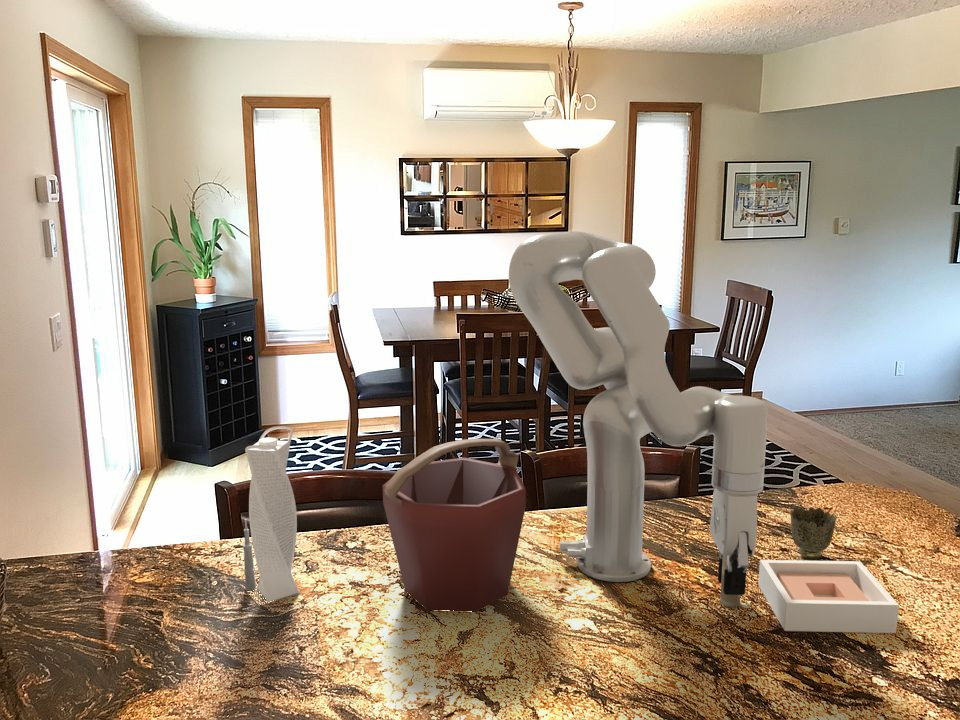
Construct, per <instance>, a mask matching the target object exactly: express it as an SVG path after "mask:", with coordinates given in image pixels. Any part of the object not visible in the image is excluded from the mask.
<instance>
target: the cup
mask: <svg viewBox="0 0 960 720" xmlns="http://www.w3.org/2000/svg"><path fill="white" fill-rule="evenodd" d="M836 522H837V516H836V515H835V513H832V514H830V512H829V510H827V511H824V510H823V509H822V508H821V507H818V508H814V507H813V506H810V507H809V508H808V510H802V507H801V506H800V507H796V506H795V507H793V510H792V509H790V525H791V526H790V527H791V530H790V531H791V537H792V540H793V542H794V544H795V545H796V547H798V548H799V549H798V552H799V555H800V556H801V557H802V558H804V559H807V560H810V561H816V560H819V559H820V558H821V556H822V552H823V551H825V550H827V548H829V547H830V544H831V543H832V540H833V535H834V531H835V526H836Z"/></svg>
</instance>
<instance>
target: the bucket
mask: <svg viewBox="0 0 960 720" xmlns="http://www.w3.org/2000/svg"><path fill="white" fill-rule="evenodd" d="M475 447H494V448H495V451H496V452H497V453H498V462H497V463H495V462H489V461H484V460H478V459H475V458H468V457H459V458H450V459H442V460H438V459H439V458H441V457H442V456H443V455H445V454H448V453H452V452H456V451H459V450H462V449H467V448H475ZM435 460H437V461H435ZM518 462H519V456H518V454H517V453H516V452H515V451H513V450H511V447H510V445H509V443H507V442H505V441H503V440H502V439H499V438H471V439H468V438H467V439H466V438H465V439H460V440H455V441H454V440H453V441H449V442H444V443H441V444H438V445H435V446H433V447H431V448H429V449H427V450H426V451H425V452H423V453H421V454H420V455H418V456H416V457H414V459H412V460H411V461H410V462H408V463H407V464H406V465H404V466H402V467H401V468H399V469H398V470H397V471H396V472H395V473H394V475H393V476H392V477H391V478H389V480H387V481H386V482H385V483H384V484H382V504H383V507H384V512H385V515H386V520H387V524H388V527H389V528H388V529H389V531H390V535H391V536H390V537H391V539H392V544H393V547H394V551H395V555H396V560H397V563H398V567H399V572H400V577H401V579H402V584H403V587H404V591H407V592H408V593H409V594H410V595H411V596H412V597H414V598H415V599H416V600H417V601H418V602H419V603H420V604H421V605H420V604H419V603H418V602H417V601H416V600H415V599H414V598H413V599H414V600H415V601H416V602H417V603H418V604H419V605H420V606H422V605H423V606H424V607H425V608H426V609H427V610H450V611H453V610H454V611H472V612H475V613H477V612H479V611H480V610H479V609H481V610H483V609H485V608H486V606H487V607H488V606H490V605H492V604H494V603H496V602H498V601H500V600H502V599H503V598H505V597H507V596H508V595H509V590H510V585H511V580H512V575H513V570H514V566H515V561H516V560H515V559H516V556H517V551H518V547H519V546H518V545H519V540H520V536H521V531H522V527H523V526H522V525H523V522H524V516H525V512H526V502H527V501H526V499H527V496H526V493H527V492H526V491H527V489H526V487H525V484H524V482H523V481H522V479H521V477H520V475H519V472H518V470H517V469H516V468H517V466H518ZM407 592H406V593H407ZM408 593H407V594H408ZM409 594H408V595H409ZM410 595H409V596H410ZM411 596H410V597H411ZM412 597H411V598H412ZM499 599H500V600H499ZM497 600H498V601H497ZM423 606H422V607H423ZM424 607H423V608H424ZM484 607H485V608H484ZM425 608H424V609H425ZM482 608H483V609H482ZM426 609H425V610H426ZM427 610H426V611H427ZM478 610H479V611H478ZM476 611H477V612H476Z"/></svg>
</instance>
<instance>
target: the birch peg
mask: <svg viewBox="0 0 960 720" xmlns="http://www.w3.org/2000/svg"><path fill="white" fill-rule="evenodd" d="M734 551H737V549H735V550H734ZM737 559H738V557H732V562H733V561H734V560H737ZM724 569H727V556H723V562H722V579H721V583H720V596H719V597H720V599H719V600H720V601H719V603H720V604H721V605H722V606H723V607H726V608H731V609H734V608H738V606H739V607H740V606H741V596H742V595H726V594H724V592H723V587H724Z"/></svg>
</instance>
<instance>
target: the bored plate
mask: <svg viewBox="0 0 960 720" xmlns="http://www.w3.org/2000/svg"><path fill="white" fill-rule="evenodd" d="M777 578H778V579H779V581H780V582H781V584H782V586H783V587H784V589H785V590H786V592H787V593H788V595H789V596H790V598H791V600H834V601H869V600H868V598H867V597H866V596H865V595H864V594H863V592H862V591H861V590H860V589H859V588H858V586H857V585H856V584H855V583H854V581H853V580H852V579H851V578H850V577H849V575H848V574H818V573H778V576H777ZM814 595H834V597H815V596H814Z"/></svg>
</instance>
